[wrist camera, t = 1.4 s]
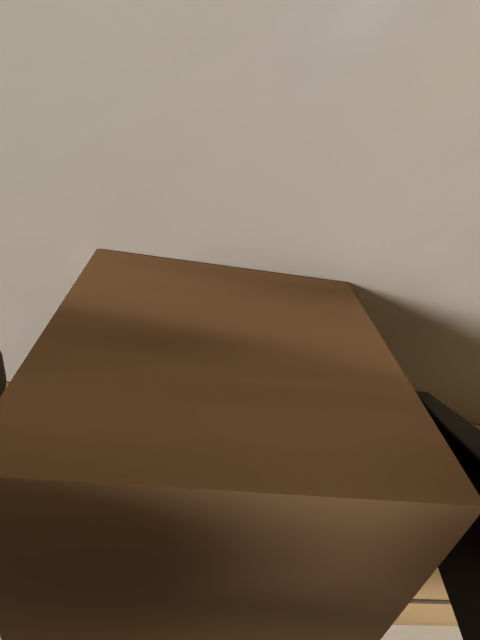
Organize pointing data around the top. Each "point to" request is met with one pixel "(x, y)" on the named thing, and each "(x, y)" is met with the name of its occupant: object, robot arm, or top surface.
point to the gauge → (217, 463)
